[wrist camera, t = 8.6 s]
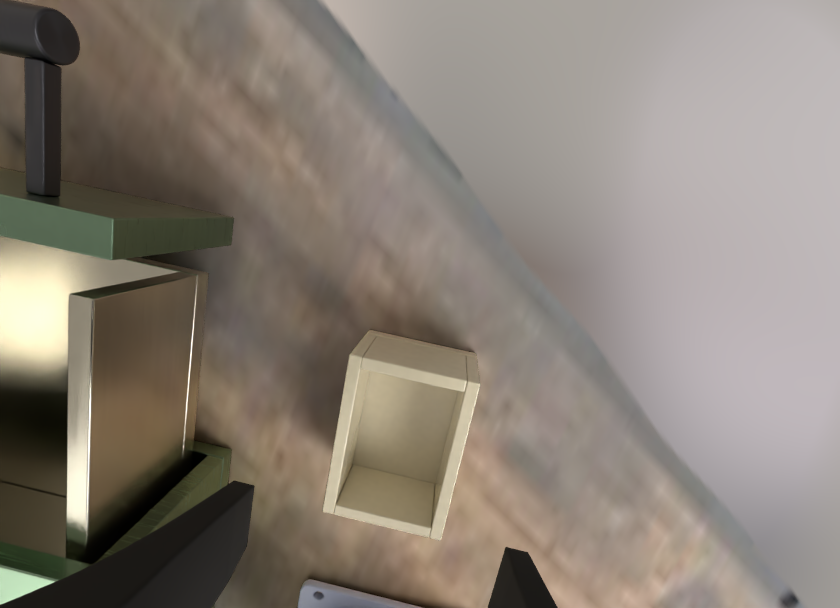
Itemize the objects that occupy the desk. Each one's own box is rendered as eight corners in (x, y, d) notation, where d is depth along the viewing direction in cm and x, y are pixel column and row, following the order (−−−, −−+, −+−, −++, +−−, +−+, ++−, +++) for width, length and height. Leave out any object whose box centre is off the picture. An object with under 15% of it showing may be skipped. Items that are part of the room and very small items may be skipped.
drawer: (-45, 26, 17) (-332, -81, 11) (247, 84, 16) (120, 5, 10) (-25, 468, 21) (-219, 569, 15) (203, 525, 21) (97, 654, 15)
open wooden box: (476, 353, 19) (480, 383, 15) (444, 486, 20) (441, 541, 17) (368, 329, 19) (349, 353, 15) (344, 462, 20) (321, 512, 17)
